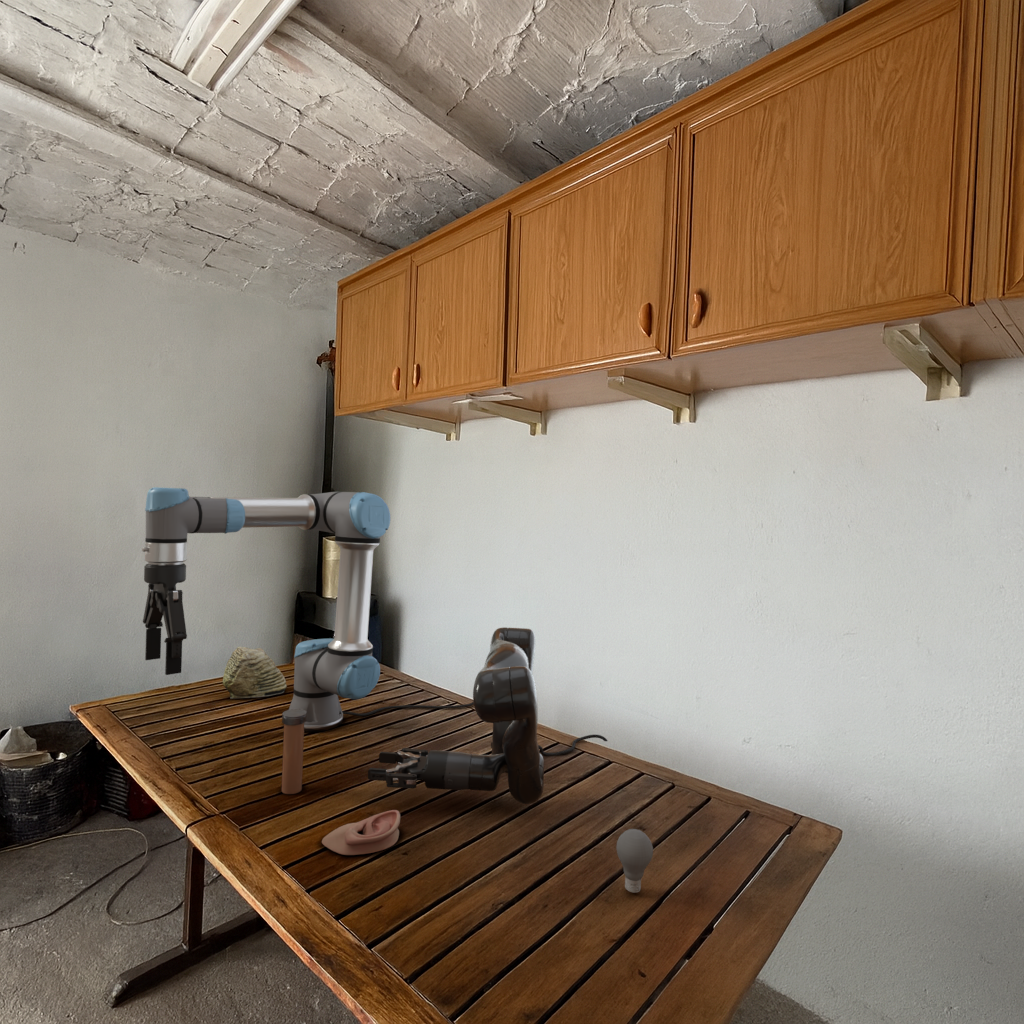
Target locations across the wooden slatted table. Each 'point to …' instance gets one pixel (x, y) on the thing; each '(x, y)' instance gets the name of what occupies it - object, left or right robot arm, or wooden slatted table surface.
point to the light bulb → (634, 857)
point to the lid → (294, 717)
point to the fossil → (252, 674)
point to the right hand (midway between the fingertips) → (374, 765)
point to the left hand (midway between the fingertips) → (162, 666)
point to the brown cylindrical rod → (292, 758)
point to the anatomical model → (365, 835)
